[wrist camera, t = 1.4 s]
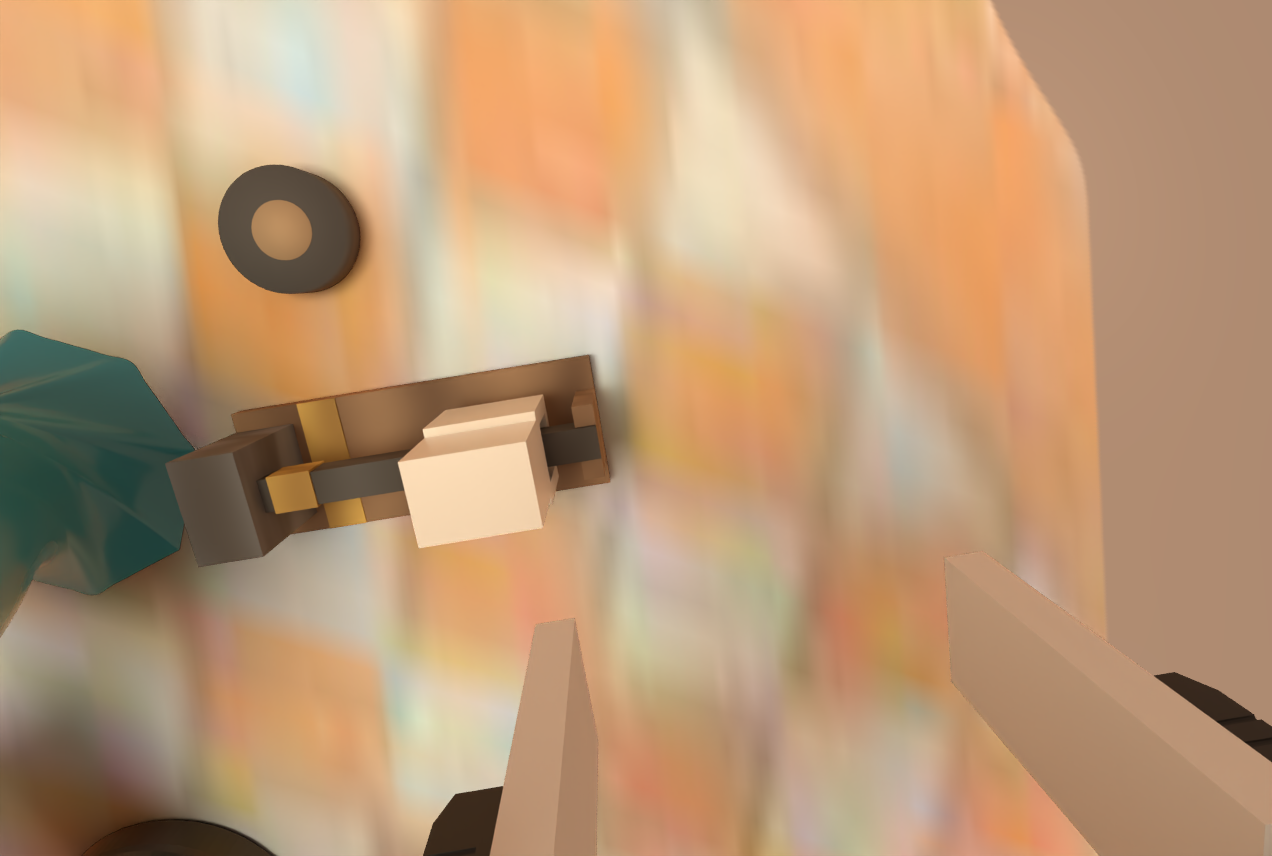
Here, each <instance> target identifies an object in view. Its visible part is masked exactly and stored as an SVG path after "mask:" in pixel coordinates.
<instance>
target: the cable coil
mask: <svg viewBox="0 0 1272 856" xmlns="http://www.w3.org/2000/svg"><path fill="white" fill-rule="evenodd" d="M218 227H219V234H220V239H221V242H222V245H223V248H224V250H225V252H226V254H227V256H228V258H229V259H230V261H231V262H232V264H233V265H234V266H235V268H236V269H237V270H238V271H239V272H240V273H241V274H242V275H243V276H244V277H245V278H247V279H248V280H249V281H251V282H252V283H254V284H256V285H257V286H259V287H262V288H264V289H266V290H269V291H273V292H277V293H286V294H294V293H310V292H318V291H322V290H325V289H328V288H330V287H332V286H334V285H336V284H337V283H338V282H340V281H341V280H342V279H343V278H344V277H345V276H346V275H347V274H348V273H349V271H350V270H351V269H352V267H353V265H354V263H355V261H356V258H357V256H358V252H359V247H360V230H359V224H358V221H357V217H356V215H355V212H354V210H353V208H352V206H351V205H350V203H349V201H348V200H347V199H346V197H345V196H344V195H343V194H342V193H341V192H340V191H339V190H338V189H337V188H336V187H335V186H334V185H332V184H331V183H330V182H328V181H326V180H325V179H323V178H321V177H319V176H317V175H314V174H311V173H308V172H305V171H302V170H299V169H296V168H293V167H290V166H284V165H265V166H261V167H257V168H254V169H252V170H249V171H247V172H246V173H244V174H242V175H241V176H240V177H238V178H237V179H236V180H235V181H234V182H233V183H232V184H231V185H230V187H229V188H228V190H227V191H226V193H225V195H224V197H223V199H222V202H221V205H220V210H219V216H218Z"/></svg>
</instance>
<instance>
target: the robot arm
mask: <svg viewBox="0 0 1272 856" xmlns="http://www.w3.org/2000/svg"><path fill="white" fill-rule="evenodd" d="M944 565H945V583H946V600H947V618H948V635H949V652H950V670H951V682H952V683H953V684H954V685H955V687H956V688H957V689H958V690H959V691H960V693H961V694H962V695H963V696H964V697H965V698H966V700H967V701H968V702H969V703H970V704H971V705H972V707H973V708H974V709H975V710H976V711H977V712H978V714H979V715H980V716H981V717H982V718H983V720H984V721H985V722H986V723H987V724H988V725H989V727H990V728H991V729H992V730H993V731H994V732H995V734H996V735H997V736H998V737H999V738H1000V740H1001V741H1002V742H1003V743H1004V744H1005V745H1006V747H1007V748H1008V749H1009V750H1010V751H1011V752H1012V754H1013V755H1014V756H1015V757H1016V758H1017V759H1018V761H1019V762H1020V763H1021V764H1022V765H1023V767H1024V768H1025V769H1026V770H1027V771H1028V772H1029V774H1030V775H1031V776H1032V777H1033V778H1034V779H1035V781H1036V782H1037V783H1038V784H1039V785H1040V787H1041V788H1042V789H1043V790H1044V791H1045V792H1046V794H1047V795H1048V796H1049V797H1050V798H1051V799H1052V801H1053V802H1054V803H1055V804H1056V805H1057V806H1058V808H1059V809H1060V810H1061V811H1062V812H1063V814H1064V815H1065V816H1066V817H1067V818H1068V819H1069V821H1070V822H1071V823H1072V824H1073V825H1074V826H1075V828H1076V829H1077V830H1078V831H1079V832H1080V834H1081V835H1082V836H1083V837H1084V838H1085V839H1086V841H1087V842H1088V843H1089V844H1090V845H1091V846H1092V848H1093V849H1094V850H1095V851H1096V852H1097V853H1098V855H1099V856H1272V726H1270V725H1269V724H1267V723H1266V722H1264V721H1263V720H1257V719H1256V718H1255V716H1254V714H1252V713H1251V712H1249V711H1248V710H1247V709H1245V708H1244V707H1242V706H1241V705H1239V704H1238V703H1236V702H1235V701H1233V700H1232V699H1230V698H1228V697H1227V696H1226V695H1224V694H1223V693H1221V692H1220V691H1218V690H1216V689H1214V688H1211V687H1209V686H1207V685H1204V684H1202V683H1199V682H1197V681H1194V680H1192V679H1190V678H1187V677H1185V676H1183V675H1180V674H1178V673H1175V672H1173V673H1167V674H1161V675H1155V676H1153V675H1151V674H1150V673H1149V672H1147V671H1146V670H1145V669H1143V668H1142V667H1141V666H1139V665H1138V664H1136V663H1135V662H1134V661H1132V660H1131V659H1130V658H1128V657H1127V656H1126V655H1124V654H1123V653H1121V652H1120V651H1118V650H1117V649H1116V648H1115V647H1113V646H1112V645H1110V644H1109V643H1108V642H1106V641H1105V640H1104V639H1102V638H1101V637H1100V636H1098V635H1097V634H1095V633H1094V632H1093V631H1091V630H1090V629H1089V628H1087V627H1086V626H1084V625H1083V624H1082V623H1080V622H1079V621H1078V620H1076V619H1075V618H1074V617H1072V616H1071V615H1069V614H1068V613H1067V612H1065V611H1064V610H1063V609H1061V608H1060V607H1059V606H1057V605H1056V604H1054V603H1053V602H1052V601H1050V600H1049V599H1048V598H1046V597H1045V596H1043V595H1042V594H1041V593H1039V592H1038V591H1037V590H1035V589H1034V588H1033V587H1031V586H1030V585H1028V584H1027V583H1026V582H1024V581H1023V580H1022V579H1020V578H1019V577H1017V576H1016V575H1015V574H1013V573H1012V572H1011V571H1009V570H1008V569H1007V568H1005V567H1004V566H1002V565H1001V564H1000V563H998V562H997V561H996V560H994V559H993V558H991V557H990V556H989V555H987V554H986V553H985V552H983V551H980V552H973V553H967V554H961V555H955V556H949V557H944ZM597 790H598V736H597V731H596V726H595V721H594V716H593V710H592V705H591V700H590V695H589V690H588V684H587V679H586V674H585V669H584V664H583V659H582V653H581V648H580V643H579V638H578V633H577V627H576V622H575V618H571V619H565V620H559V621H553V622H547V623H541V624H536V625H535V630H534V635H533V640H532V645H531V650H530V656H529V661H528V666H527V671H526V676H525V681H524V686H523V691H522V696H521V701H520V706H519V711H518V716H517V721H516V726H515V731H514V736H513V741H512V746H511V751H510V756H509V761H508V766H507V771H506V776H505V781H504V786H501V787H495V788H489V789H483V790H477V791H471V792H465V793H459V794H455V795H454V797H453V798H452V799H451V801H450V802H449V803H448V805H447V806H446V807H445V809H444V810H443V811H442V812H441V814H440V815H439V816H438V818H437V819H436V820H435V822H434V823H433V825H432V829H431V832H430V835H429V838H428V841H427V845H426V848H425V851H424V854H423V856H597ZM82 856H271V855H270V854H268V853H267V852H266V851H265V850H263V849H262V848H260V847H259V846H258V845H256V844H254V843H253V842H251V841H249V840H248V839H246V838H244V837H242V836H240V835H238V834H235V833H233V832H231V831H228V830H225V829H223V828H219V827H216V826H213V825H208V824H204V823H199V822H192V821H181V820H164V821H153V822H146V823H141V824H137V825H133V826H130V827H127V828H124V829H121V830H119V831H116V832H114V833H112V834H110V835H108V836H106V837H105V838H103V839H101V840H100V841H98V842H97V843H95V844H94V845H93V846H91V847H90V848H89V849H88V850H87V851H86V852H85V853H84V854H83V855H82Z"/></svg>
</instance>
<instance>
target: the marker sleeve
mask: <svg viewBox="0 0 1272 856" xmlns="http://www.w3.org/2000/svg"><path fill="white" fill-rule="evenodd" d="M543 427H549V423H548V417H547V412H546V407H545V401H544V396H543V394H542V395H536V396H530V397H523V398H517V399H511V400H505V401H499V402H492V403H486V404H480V405H474V406H468V407H462V408H455V409H449V410H445V411H444V412H442V413H441V414H440V415H439V416H438V417H437V418H435V419H434V420H433V421H432V422H431V423H429V424H428V425H427V426H426V427H425V428H424V429H423V434H424V439H423V440H422V441H421V442H420V443H418V444H417V445H416V446H415V447H414V448H413V449H412V450H411V451H410V452H409V453H407V454H406V455H405V456H404V457H403V458H402V459H401V460H400V461H399V462H398V465H399V469H400V474H401V478H402V482H403V486H404V490H405V494H406V498H407V502H408V506H409V510H410V514H411V519H412V523H413V527H414V531H415V535H416V539H417V543H418V547H419V548H424V547H430V546H436V545H442V544H448V543H454V542H460V541H467V540H473V539H479V538H485V537H491V536H497V535H503V534H509V533H516V532H522V531H528V530H534V529H540V528H543V526H544V522H545V518H546V514H547V510H548V505H552V504H553V500H554V495H555V491H556V487H557V482H558V478H559V475H558V470H557V466H552V467H547V462H546V457H545V451H544V446H543V441H542V436H541V431H540V428H543Z"/></svg>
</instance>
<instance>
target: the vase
mask: <svg viewBox="0 0 1272 856" xmlns="http://www.w3.org/2000/svg"><path fill="white" fill-rule="evenodd" d="M193 451H195V450H194V448H193V447H192V446H191V444H190V443H189V442H188V441H187V440H186V439H185V437H184V436H183V435H182V434H181V432H180V431H179V429H178V428H177V426H176V425H175V423H174V422H173V420H172V419H171V418H170V416H169V415H168V413H167V412H166V411H165V409H164V408H163V406H162V405H161V403H160V402H159V401H158V399H157V398H156V396H155V395H154V394H153V392H152V391H151V390H150V388H149V387H148V385H147V384H146V383H145V381H144V379H143V378H142V376H141V374H140V372H139V370H138V369H137V368H136V366H135V365H134V364H133V363H132V362H130V361H128V360H126V359H123V358H118V357H112V356H107V355H103V354H100V353H97V352H94V351H90V350H87V349H83V348H80V347H76V346H73V345H69V344H66V343H62V342H59V341H55V340H51V339H47V338H43V337H40V336H37V335H35V334H32V333H30V332H27V331H24V330H14V331H11V332H9V333H8V334H6V335H5V336H3V337H2V338H1V339H0V638H1V636H2V635H3V633H4V631H5V630H6V628H7V627H8V625H9V624H10V622H11V620H12V619H13V617H14V615H15V613H16V612H17V610H18V608H19V606H20V605H21V603H22V601H23V599H24V597H25V595H26V593H27V591H28V589H29V586H30V584H31V581H32V580H34V581H38V582H42V583H46V584H50V585H54V586H58V587H63V588H67V589H71V590H75V591H77V592H80V593H83V594H87V595H97V594H99V593H101V592H103V591H105V590H106V589H107V588H109V587H110V586H112V585H114V584H115V583H117V582H119V581H121V580H123V579H125V578H127V577H129V576H131V575H133V574H135V573H136V572H138V571H140V570H142V569H144V568H146V567H148V566H150V565H151V564H153V563H155V562H157V561H159V560H161V559H163V558H165V557H167V556H168V555H170V554H172V553H174V552H176V551H178V550H179V549H180V544H181V538H182V533H183V527H184V521H183V518H182V515H181V512H180V509H179V506H178V502H177V499H176V496H175V493H174V490H173V487H172V484H171V481H170V478H169V475H168V472H167V469H166V465H165V463H167V462H169V461H172V460H174V459H177V458H179V457H181V456H184V455H186V454H188V453H191V452H193Z"/></svg>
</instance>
